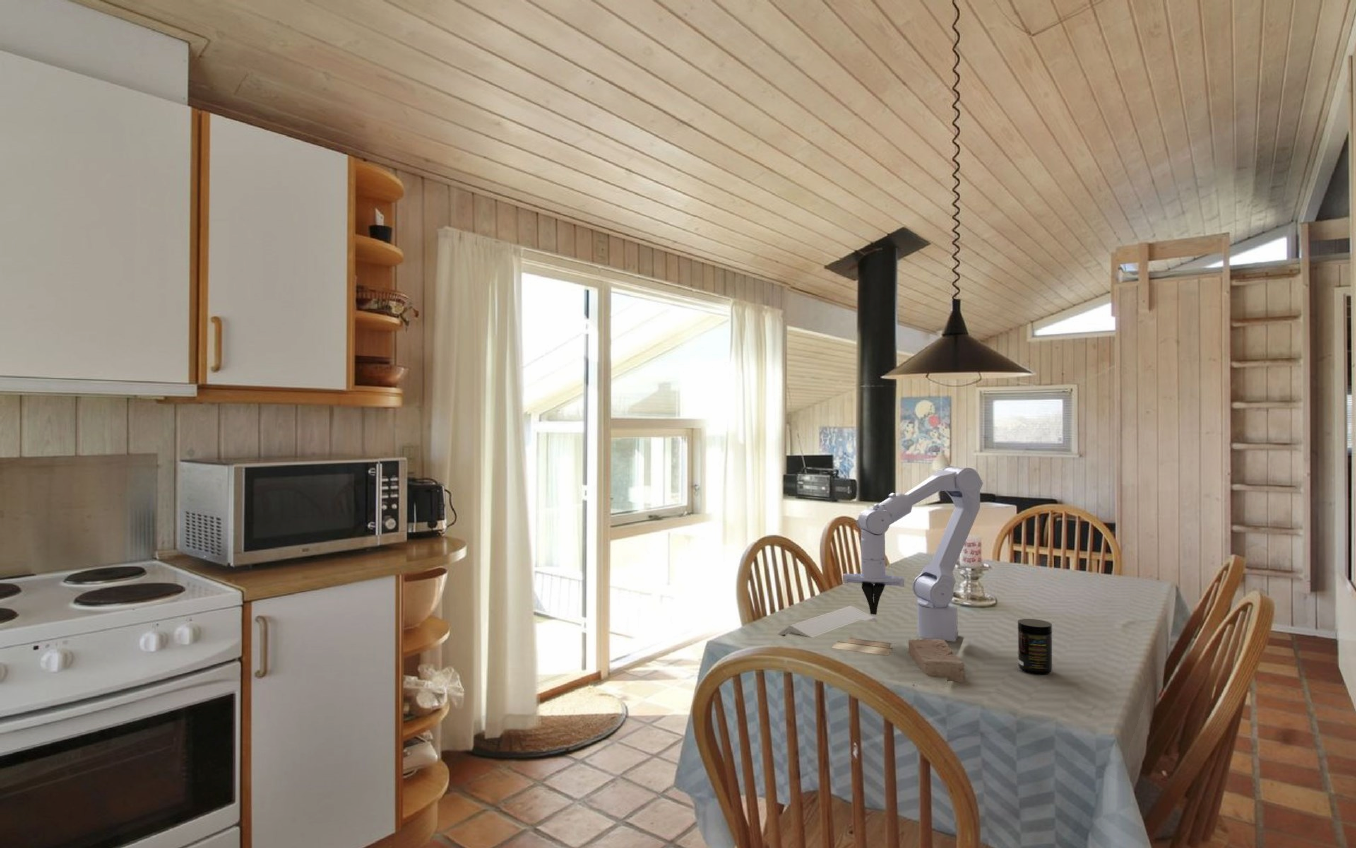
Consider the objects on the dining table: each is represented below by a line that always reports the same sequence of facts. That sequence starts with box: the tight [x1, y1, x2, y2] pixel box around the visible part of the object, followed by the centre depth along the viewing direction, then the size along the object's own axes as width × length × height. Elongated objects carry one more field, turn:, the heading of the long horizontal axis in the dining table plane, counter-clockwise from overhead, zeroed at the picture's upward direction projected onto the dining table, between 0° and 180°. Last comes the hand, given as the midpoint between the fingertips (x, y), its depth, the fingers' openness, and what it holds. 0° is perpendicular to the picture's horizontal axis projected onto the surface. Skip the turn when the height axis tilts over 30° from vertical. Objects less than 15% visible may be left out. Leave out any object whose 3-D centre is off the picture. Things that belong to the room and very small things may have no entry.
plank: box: [846, 637, 892, 647], centre depth 176 cm, size 10×7×1 cm
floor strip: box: [831, 640, 894, 656], centre depth 170 cm, size 13×6×1 cm, turn 63°
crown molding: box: [778, 605, 878, 638], centre depth 192 cm, size 29×12×4 cm, turn 136°
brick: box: [907, 638, 965, 682], centre depth 159 cm, size 17×8×5 cm, turn 175°
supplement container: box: [1017, 618, 1053, 676], centre depth 157 cm, size 7×7×10 cm
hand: (873, 613), depth 177 cm, fingers closed
